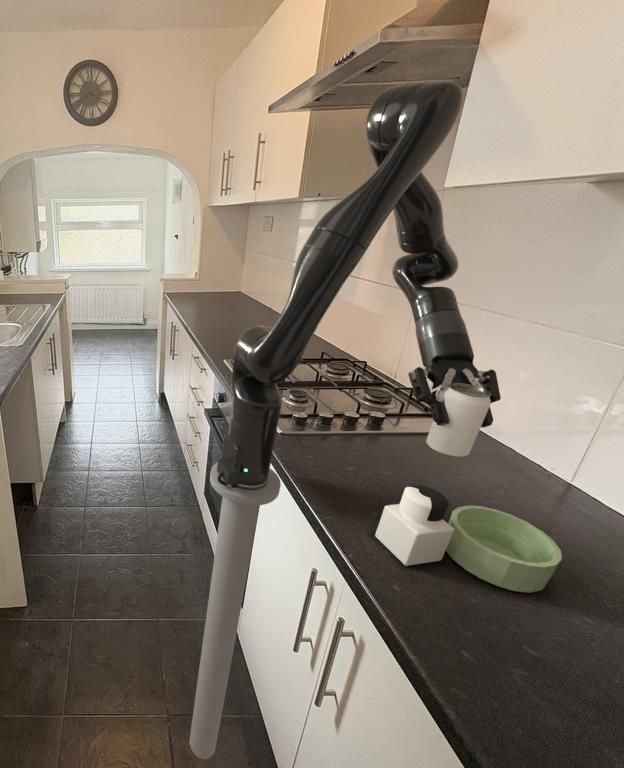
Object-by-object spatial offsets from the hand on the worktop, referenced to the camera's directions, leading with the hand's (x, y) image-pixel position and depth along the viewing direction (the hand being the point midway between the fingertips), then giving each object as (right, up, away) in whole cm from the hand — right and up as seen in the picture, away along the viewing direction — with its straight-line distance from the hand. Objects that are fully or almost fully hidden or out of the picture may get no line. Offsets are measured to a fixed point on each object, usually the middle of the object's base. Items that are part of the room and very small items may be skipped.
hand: (464, 425), depth 72 cm
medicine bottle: (-10, -22, +1) cm, 24 cm away
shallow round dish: (+3, -23, -2) cm, 23 cm away
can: (0, -5, +4) cm, 6 cm away
